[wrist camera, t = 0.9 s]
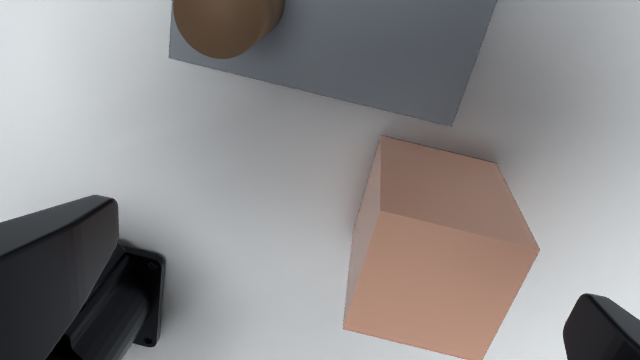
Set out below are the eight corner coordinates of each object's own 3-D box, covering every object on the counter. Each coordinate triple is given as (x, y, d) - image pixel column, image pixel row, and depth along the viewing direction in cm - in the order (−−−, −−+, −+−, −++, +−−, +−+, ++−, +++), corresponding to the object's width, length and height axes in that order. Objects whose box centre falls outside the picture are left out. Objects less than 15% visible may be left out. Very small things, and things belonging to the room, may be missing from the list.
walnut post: (278, 44, 19) (254, 68, 15) (210, 27, 19) (170, 47, 15) (291, -31, 18) (267, -24, 14) (217, -49, 18) (176, -46, 14)
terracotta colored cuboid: (456, 257, 23) (480, 362, 18) (352, 231, 23) (342, 328, 18) (496, 163, 21) (539, 249, 15) (380, 135, 21) (379, 210, 15)
